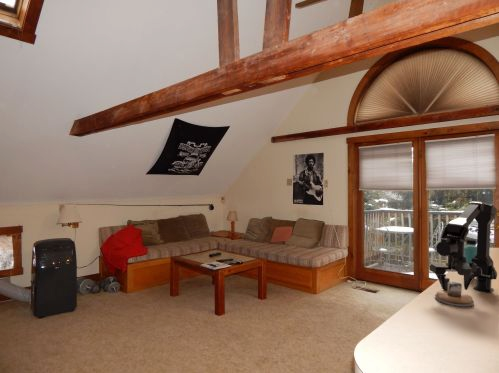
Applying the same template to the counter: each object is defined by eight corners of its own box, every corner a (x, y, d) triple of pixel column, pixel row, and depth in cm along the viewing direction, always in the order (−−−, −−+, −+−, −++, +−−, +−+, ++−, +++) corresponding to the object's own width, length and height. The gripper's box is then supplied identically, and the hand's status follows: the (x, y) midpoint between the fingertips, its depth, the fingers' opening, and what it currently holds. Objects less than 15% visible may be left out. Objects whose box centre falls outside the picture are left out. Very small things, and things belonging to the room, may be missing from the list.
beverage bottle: (480, 280, 171) (481, 241, 170) (465, 279, 172) (467, 240, 171) (474, 276, 177) (475, 238, 176) (460, 275, 179) (461, 238, 178)
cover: (449, 292, 147) (450, 280, 147) (462, 295, 143) (463, 283, 143) (445, 295, 144) (446, 283, 143) (459, 298, 140) (459, 286, 140)
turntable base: (441, 292, 153) (441, 290, 153) (478, 301, 143) (478, 299, 143) (430, 300, 144) (430, 297, 144) (468, 310, 134) (468, 308, 134)
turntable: (429, 290, 152) (429, 277, 152) (459, 291, 151) (460, 278, 151) (445, 303, 137) (446, 288, 137) (479, 304, 136) (480, 289, 136)
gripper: (443, 257, 135) (441, 296, 136) (491, 258, 134) (489, 297, 135) (429, 250, 146) (428, 286, 147) (474, 251, 145) (472, 287, 146)
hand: (454, 289), depth 143 cm, fingers open, 9 cm apart
